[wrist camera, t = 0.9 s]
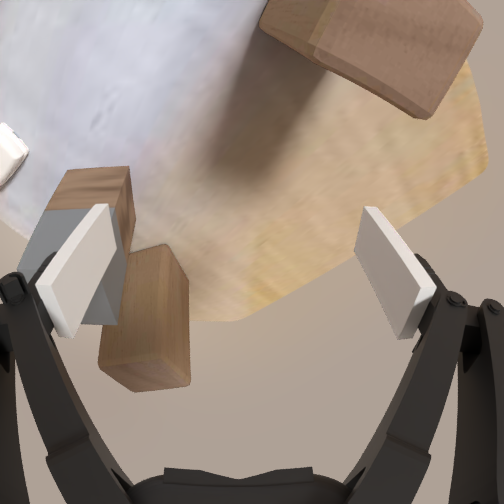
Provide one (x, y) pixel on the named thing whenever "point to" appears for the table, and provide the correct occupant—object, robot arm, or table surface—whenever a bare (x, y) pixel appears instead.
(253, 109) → the table surface
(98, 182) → the walnut base cube
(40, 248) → the grey cube
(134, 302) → the block
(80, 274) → the robot arm
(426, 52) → the wooden block
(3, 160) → the soap
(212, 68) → the table surface
